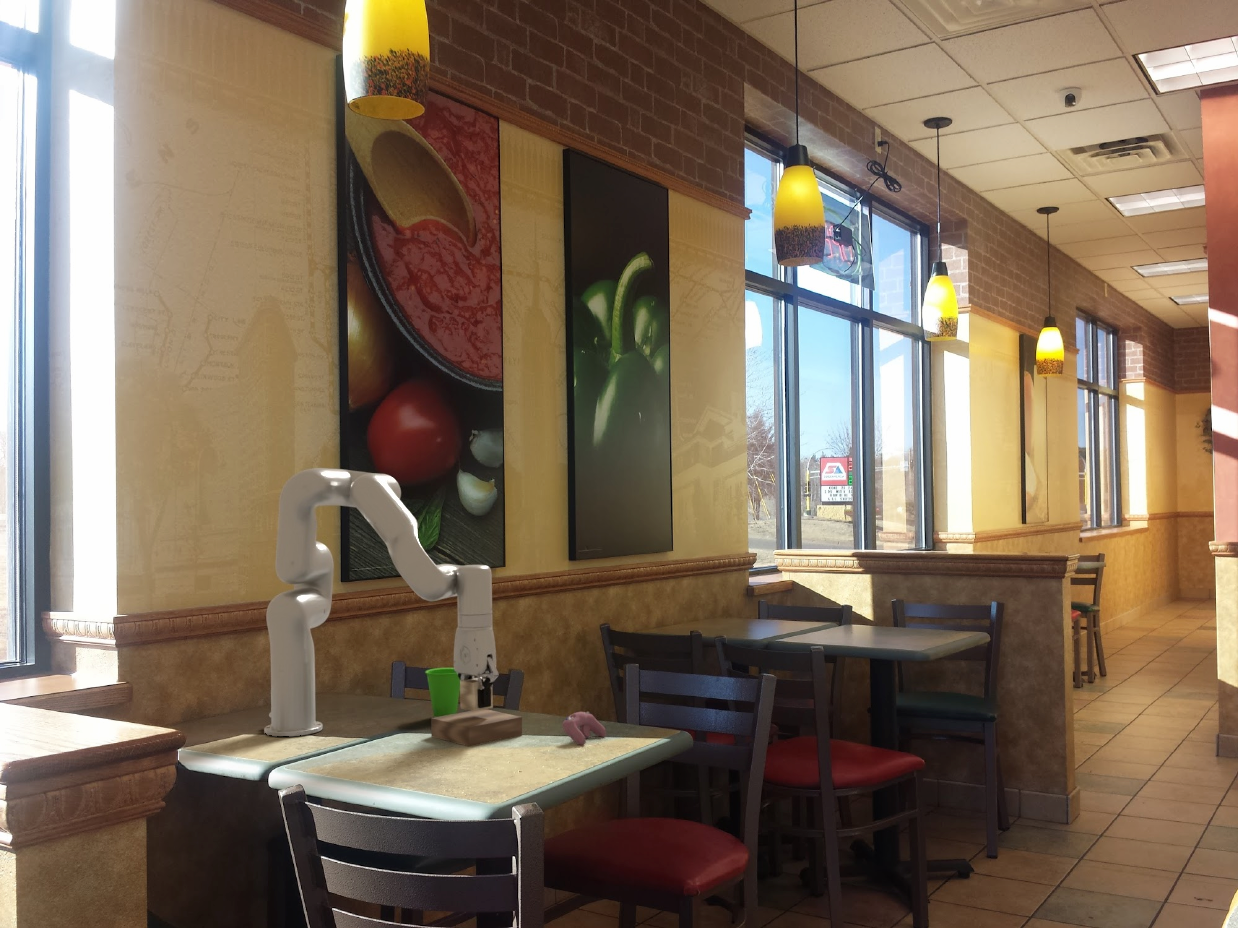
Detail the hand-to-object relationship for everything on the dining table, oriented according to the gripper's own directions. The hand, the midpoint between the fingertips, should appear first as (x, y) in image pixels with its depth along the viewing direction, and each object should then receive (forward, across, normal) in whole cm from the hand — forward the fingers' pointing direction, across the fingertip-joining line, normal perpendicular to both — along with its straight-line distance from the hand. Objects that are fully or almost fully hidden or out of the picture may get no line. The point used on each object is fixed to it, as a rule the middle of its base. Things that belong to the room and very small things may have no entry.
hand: (476, 704), depth 241 cm
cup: (+7, -22, +7) cm, 24 cm away
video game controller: (+7, +20, +13) cm, 25 cm away
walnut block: (+7, 0, 0) cm, 7 cm away
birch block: (+1, 0, 0) cm, 1 cm away
